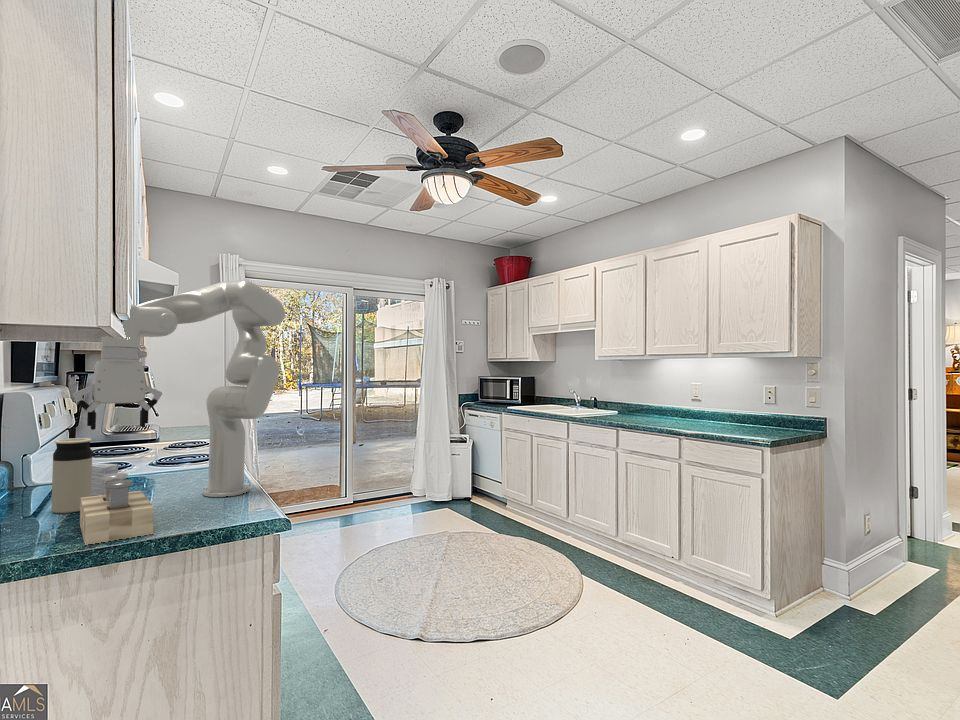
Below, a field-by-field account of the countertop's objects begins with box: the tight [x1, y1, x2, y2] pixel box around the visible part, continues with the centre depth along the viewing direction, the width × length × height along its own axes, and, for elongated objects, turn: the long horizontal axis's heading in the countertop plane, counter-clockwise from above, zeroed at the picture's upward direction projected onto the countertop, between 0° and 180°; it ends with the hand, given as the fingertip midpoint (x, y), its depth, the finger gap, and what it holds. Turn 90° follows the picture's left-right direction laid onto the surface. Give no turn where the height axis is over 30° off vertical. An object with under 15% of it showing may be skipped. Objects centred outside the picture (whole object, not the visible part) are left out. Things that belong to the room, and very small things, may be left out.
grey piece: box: [105, 479, 134, 510], centre depth 114 cm, size 5×5×7 cm
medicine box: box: [91, 462, 119, 496], centre depth 149 cm, size 8×4×9 cm, turn 77°
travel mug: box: [50, 437, 93, 514], centre depth 133 cm, size 8×8×18 cm
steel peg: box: [101, 472, 129, 501], centre depth 122 cm, size 5×5×7 cm
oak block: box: [79, 490, 155, 546], centre depth 118 cm, size 20×12×6 cm, turn 40°
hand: (118, 427), depth 122 cm, fingers open, 9 cm apart
